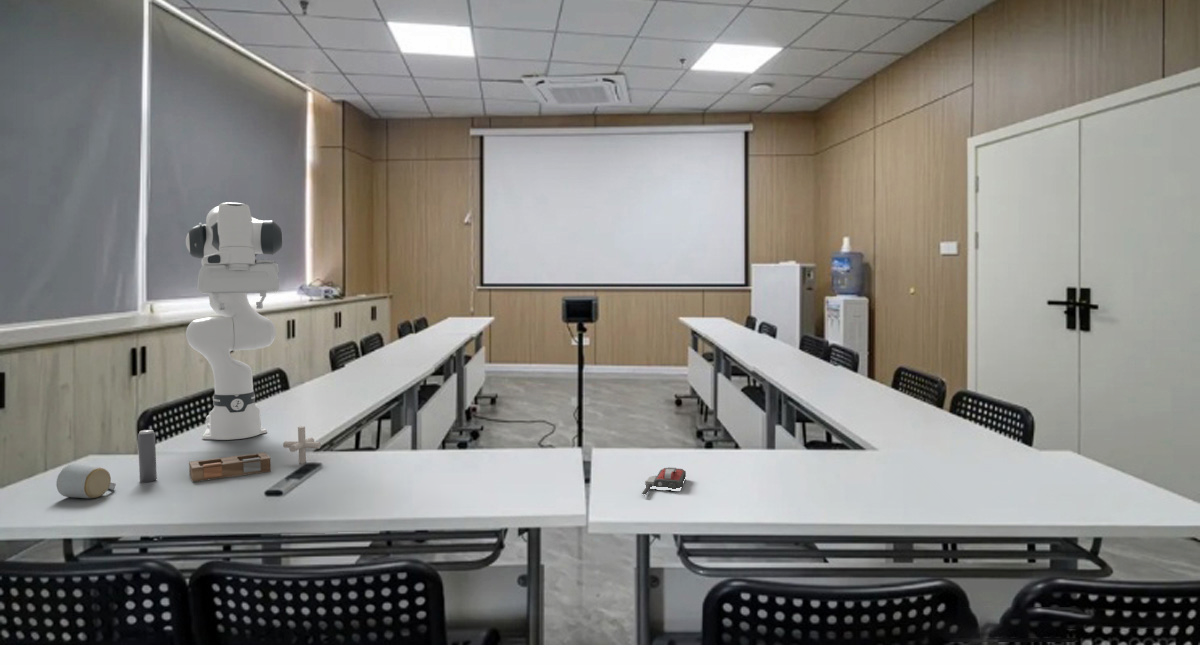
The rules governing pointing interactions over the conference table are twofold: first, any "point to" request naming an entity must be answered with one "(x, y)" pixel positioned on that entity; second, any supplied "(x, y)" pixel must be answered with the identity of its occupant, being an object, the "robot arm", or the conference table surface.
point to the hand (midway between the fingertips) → (240, 309)
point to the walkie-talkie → (666, 479)
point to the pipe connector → (301, 444)
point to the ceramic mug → (83, 481)
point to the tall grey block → (147, 456)
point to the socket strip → (229, 466)
